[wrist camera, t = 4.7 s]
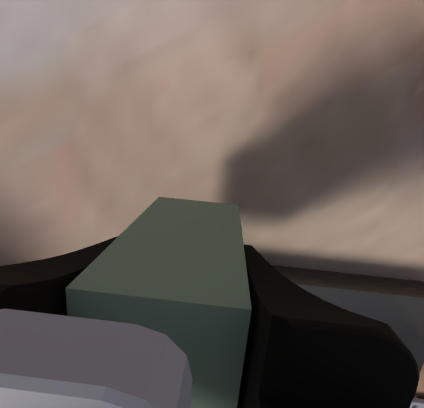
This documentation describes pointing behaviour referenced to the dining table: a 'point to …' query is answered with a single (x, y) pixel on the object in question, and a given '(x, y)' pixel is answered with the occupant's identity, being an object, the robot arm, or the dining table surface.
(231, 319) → the green rectangular block
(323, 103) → the dining table surface
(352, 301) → the socket plate
